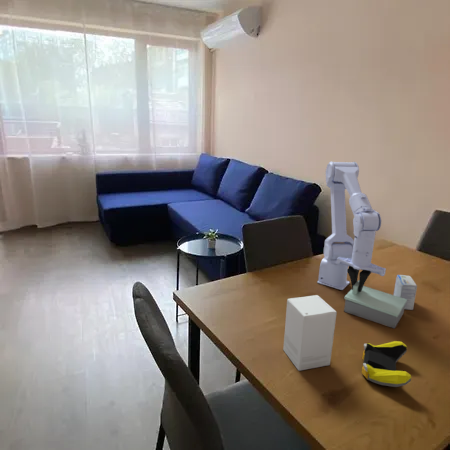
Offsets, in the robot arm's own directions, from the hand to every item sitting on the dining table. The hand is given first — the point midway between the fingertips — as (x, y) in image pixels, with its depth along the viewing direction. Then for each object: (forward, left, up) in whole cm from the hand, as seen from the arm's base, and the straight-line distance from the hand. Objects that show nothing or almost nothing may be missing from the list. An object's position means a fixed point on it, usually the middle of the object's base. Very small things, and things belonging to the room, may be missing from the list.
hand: (356, 289), depth 117 cm
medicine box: (+12, +12, -6) cm, 18 cm away
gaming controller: (+16, -27, -6) cm, 32 cm away
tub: (+6, 0, -6) cm, 8 cm away
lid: (+6, 0, -2) cm, 6 cm away
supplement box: (-1, -34, -6) cm, 35 cm away
